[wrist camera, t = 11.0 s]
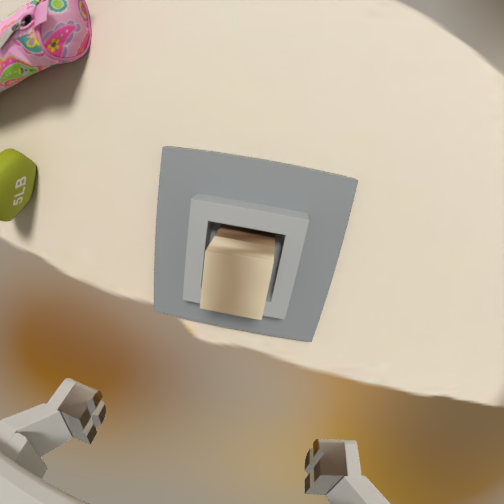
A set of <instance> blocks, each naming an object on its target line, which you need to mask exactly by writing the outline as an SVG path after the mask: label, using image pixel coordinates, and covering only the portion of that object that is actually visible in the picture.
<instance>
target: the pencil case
mask: <svg viewBox="0 0 504 504" xmlns="http://www.w3.org/2000/svg"><path fill="white" fill-rule="evenodd" d="M91 36H92V34H91V24H90V18H89V11H88V7H87V4H86V2H85V0H34V1H32V2H29V3H27V4H26V5H24V6H22V7H20V8H18V9H17V10H15V11H14V12H13V13H11V14H10V15H8V16H7V17H6V18H4V19H3V20H2V21H0V93H1V92H3V91H4V90H6V89H8V88H10V87H12V86H14V85H16V84H17V83H19V82H21V81H22V80H24V79H25V78H27V77H28V76H30V75H32V74H35V73H37V72H39V71H42V70H44V69H46V68H48V67H51V66H53V65H55V64H64V63H69V62H73V61H75V60H77V59H79V58H81V57H82V56H83V55H84V54H85V53H86V52H87V50H88V48H89V46H90V43H91Z"/></svg>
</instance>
